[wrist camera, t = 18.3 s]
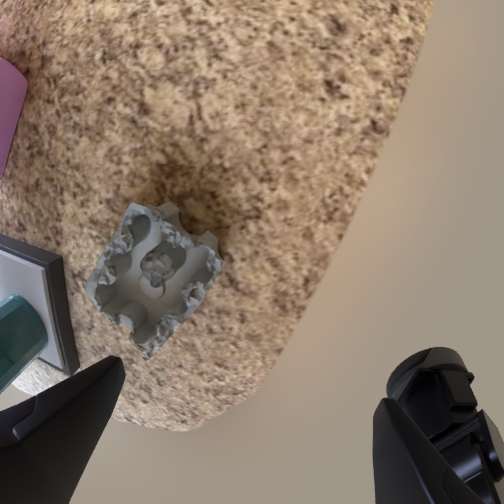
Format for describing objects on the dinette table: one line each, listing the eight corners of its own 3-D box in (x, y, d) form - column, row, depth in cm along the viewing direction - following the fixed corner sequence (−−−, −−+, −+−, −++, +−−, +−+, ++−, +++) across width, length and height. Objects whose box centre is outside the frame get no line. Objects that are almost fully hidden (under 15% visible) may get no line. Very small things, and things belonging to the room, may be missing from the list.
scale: (80, 366, 30) (68, 380, 28) (-15, 312, 32) (-26, 320, 30) (62, 255, 25) (44, 266, 22) (-34, 220, 27) (-48, 226, 24)
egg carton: (165, 337, 26) (145, 367, 22) (100, 280, 25) (72, 303, 21) (242, 253, 22) (227, 280, 18) (159, 183, 21) (128, 195, 17)
